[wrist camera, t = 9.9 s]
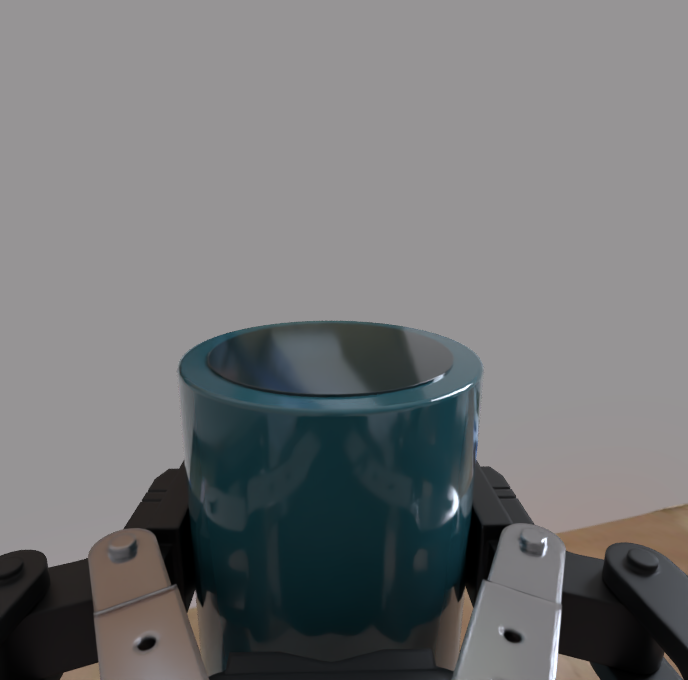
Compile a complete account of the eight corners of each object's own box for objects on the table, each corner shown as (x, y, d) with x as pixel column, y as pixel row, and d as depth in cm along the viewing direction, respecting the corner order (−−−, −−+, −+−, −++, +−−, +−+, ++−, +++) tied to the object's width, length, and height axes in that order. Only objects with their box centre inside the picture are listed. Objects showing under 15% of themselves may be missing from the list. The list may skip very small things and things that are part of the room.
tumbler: (374, 588, 17) (382, 310, 15) (506, 766, 12) (556, 373, 9) (188, 659, 15) (157, 332, 12) (248, 933, 9) (216, 441, 7)
